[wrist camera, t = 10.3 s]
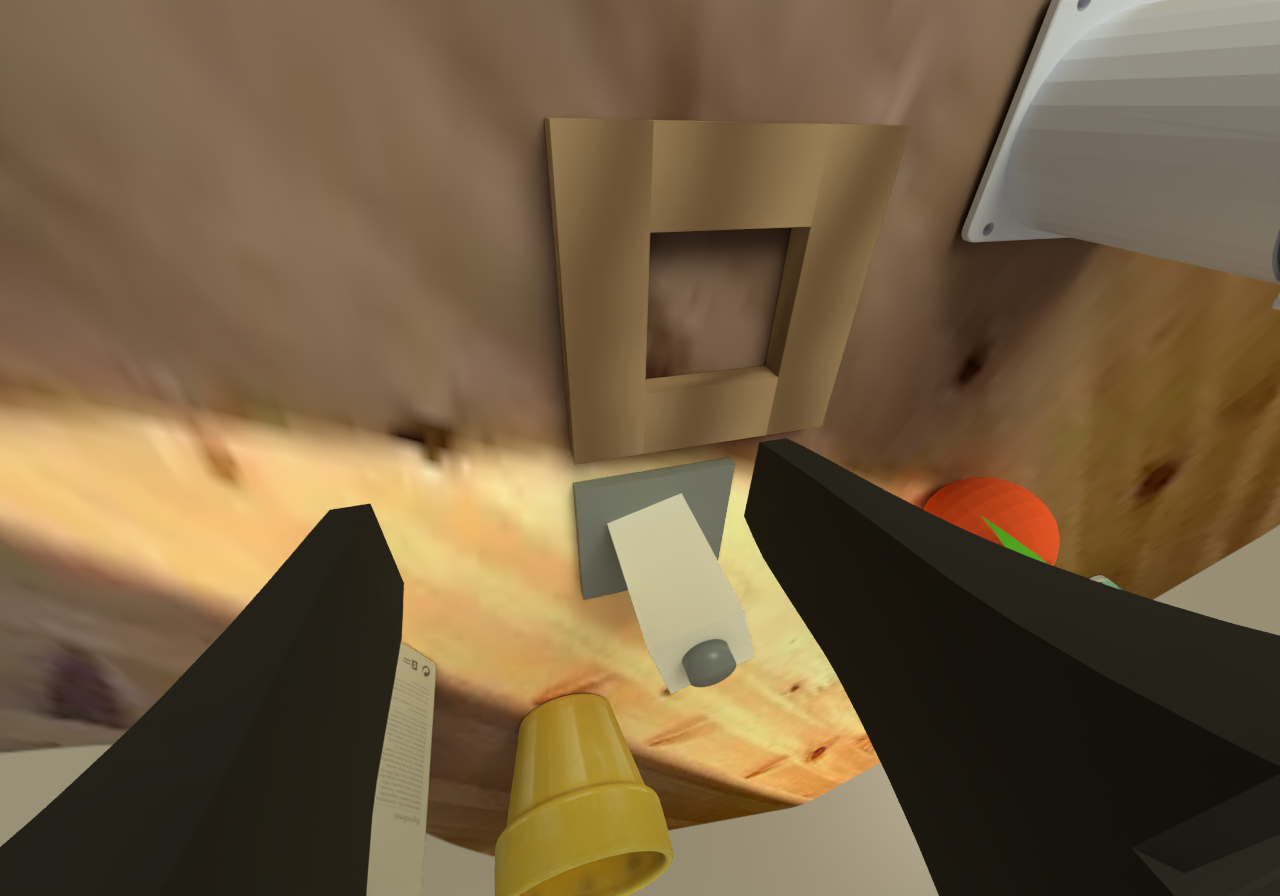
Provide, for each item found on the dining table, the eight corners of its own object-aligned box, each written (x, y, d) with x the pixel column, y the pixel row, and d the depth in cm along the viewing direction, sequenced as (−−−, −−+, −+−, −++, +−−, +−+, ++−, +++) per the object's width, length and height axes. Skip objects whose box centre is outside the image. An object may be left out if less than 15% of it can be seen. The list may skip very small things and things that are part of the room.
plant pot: (458, 746, 33) (454, 941, 25) (557, 663, 30) (586, 851, 23) (568, 761, 39) (592, 921, 31) (659, 692, 36) (708, 848, 29)
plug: (681, 493, 24) (753, 627, 18) (696, 541, 26) (763, 674, 20) (607, 523, 23) (654, 670, 17) (629, 569, 26) (677, 712, 20)
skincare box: (384, 629, 24) (330, 964, 15) (441, 663, 27) (426, 962, 18) (281, 683, 24) (162, 1049, 15) (348, 712, 27) (284, 1034, 18)
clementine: (872, 502, 30) (964, 593, 24) (968, 427, 28) (1089, 506, 23) (913, 547, 34) (998, 632, 29) (997, 485, 33) (1104, 562, 27)
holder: (886, 124, 17) (910, 126, 16) (808, 413, 24) (821, 426, 23) (544, 117, 14) (549, 118, 13) (570, 448, 21) (574, 464, 20)
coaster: (729, 457, 24) (735, 464, 23) (712, 562, 29) (716, 570, 28) (573, 482, 22) (575, 491, 22) (581, 591, 27) (583, 600, 26)
